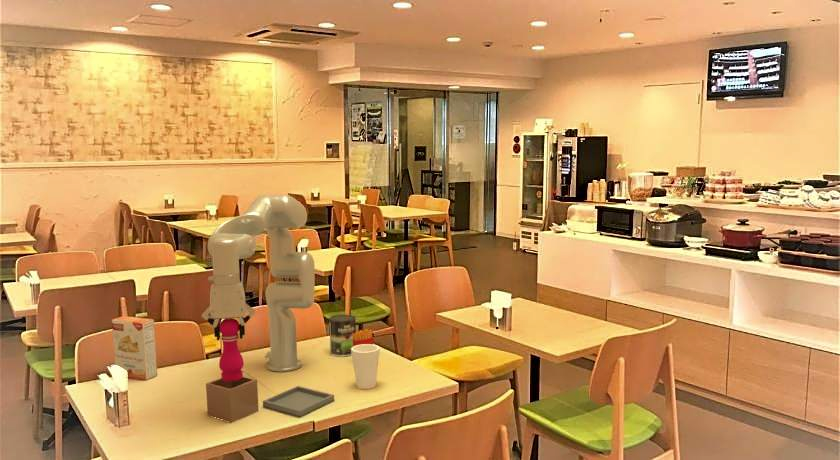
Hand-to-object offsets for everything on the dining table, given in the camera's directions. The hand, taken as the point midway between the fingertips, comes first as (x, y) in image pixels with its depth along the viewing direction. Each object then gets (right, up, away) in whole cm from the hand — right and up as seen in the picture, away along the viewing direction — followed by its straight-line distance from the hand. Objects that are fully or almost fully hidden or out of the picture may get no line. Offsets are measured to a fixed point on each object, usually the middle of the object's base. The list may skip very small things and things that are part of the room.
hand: (230, 337), depth 204 cm
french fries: (+36, -17, +51) cm, 64 cm away
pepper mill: (0, -13, +2) cm, 13 cm away
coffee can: (+27, -16, +61) cm, 69 cm away
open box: (0, -23, +3) cm, 24 cm away
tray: (+19, -22, +9) cm, 31 cm away
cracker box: (-44, -20, +37) cm, 61 cm away
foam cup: (+39, -20, +25) cm, 50 cm away
